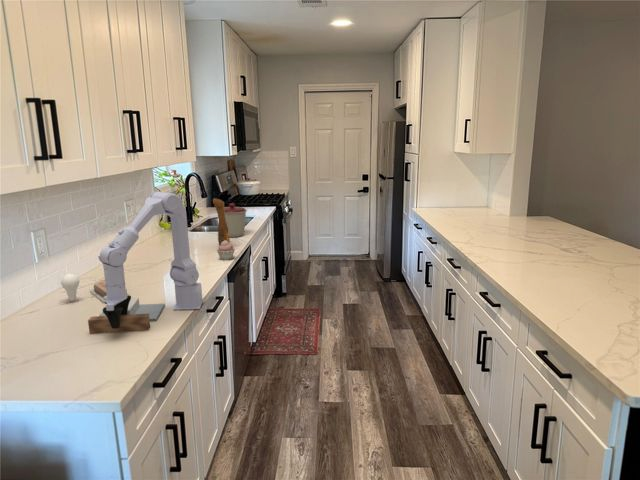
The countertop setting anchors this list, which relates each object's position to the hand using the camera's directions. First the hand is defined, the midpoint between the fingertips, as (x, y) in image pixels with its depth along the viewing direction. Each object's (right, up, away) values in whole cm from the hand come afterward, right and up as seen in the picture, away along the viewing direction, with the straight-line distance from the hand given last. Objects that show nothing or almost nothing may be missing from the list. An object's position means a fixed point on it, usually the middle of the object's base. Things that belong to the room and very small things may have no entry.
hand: (119, 323), depth 143 cm
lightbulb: (-30, +3, +25) cm, 39 cm away
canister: (+10, +30, +136) cm, 140 cm away
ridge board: (-2, 0, +13) cm, 13 cm away
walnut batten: (0, -3, +1) cm, 3 cm away
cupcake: (+17, +17, +84) cm, 88 cm away
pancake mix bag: (+10, +23, +108) cm, 110 cm away
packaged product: (-19, +4, +33) cm, 38 cm away
